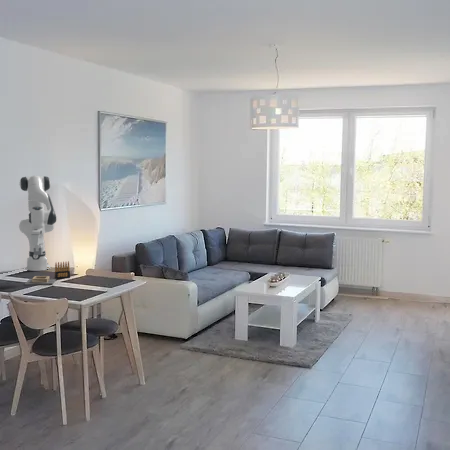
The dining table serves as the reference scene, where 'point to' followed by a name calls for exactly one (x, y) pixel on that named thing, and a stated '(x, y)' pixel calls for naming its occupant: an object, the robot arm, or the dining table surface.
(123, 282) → the dining table surface
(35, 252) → the connector
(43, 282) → the end holder
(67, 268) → the ammunition clip
